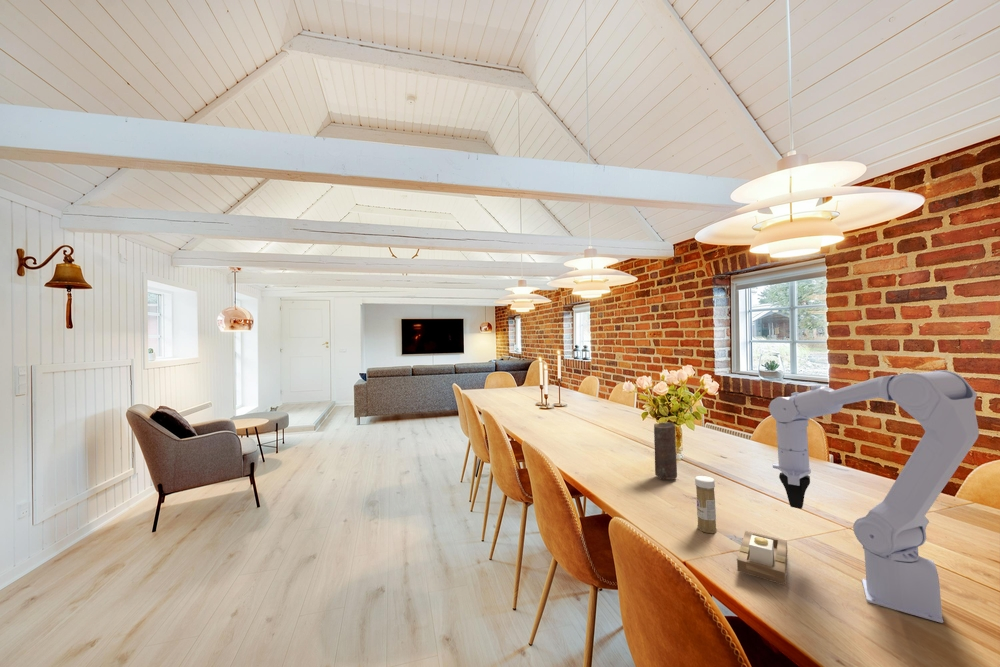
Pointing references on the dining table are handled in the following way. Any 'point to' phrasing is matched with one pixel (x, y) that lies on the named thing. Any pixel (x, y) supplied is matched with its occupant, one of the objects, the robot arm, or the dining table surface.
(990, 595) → the dining table surface
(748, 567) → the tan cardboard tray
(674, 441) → the candle
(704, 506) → the sprinkles bottle
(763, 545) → the block
